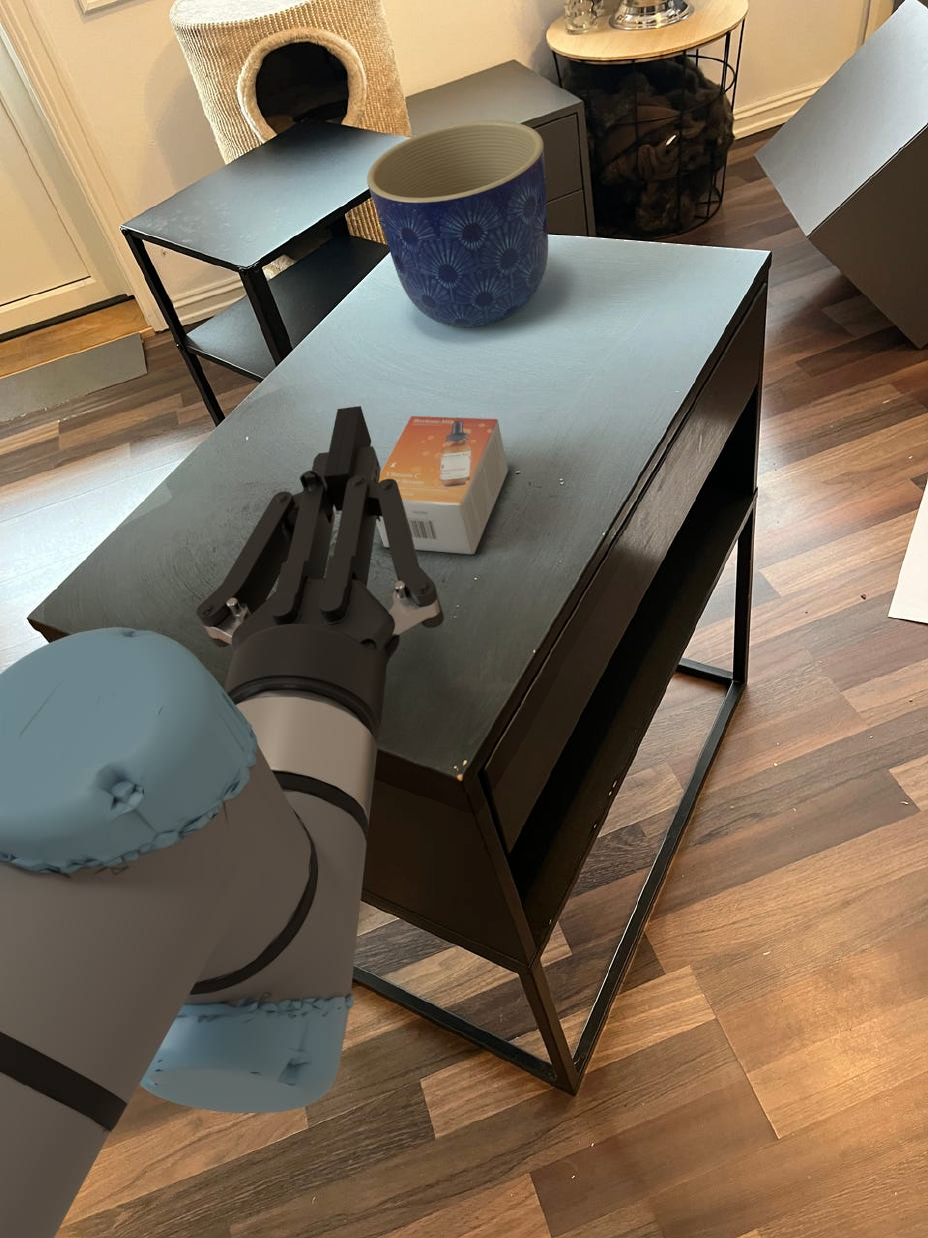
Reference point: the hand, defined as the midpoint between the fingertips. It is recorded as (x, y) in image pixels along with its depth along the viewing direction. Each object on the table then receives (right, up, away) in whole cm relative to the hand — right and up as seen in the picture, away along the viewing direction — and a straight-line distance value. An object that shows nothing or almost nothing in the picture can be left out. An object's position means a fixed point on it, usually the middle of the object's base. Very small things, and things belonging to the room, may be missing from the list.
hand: (354, 425), depth 59 cm
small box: (+4, -5, +14) cm, 15 cm away
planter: (+9, +21, +40) cm, 46 cm away
